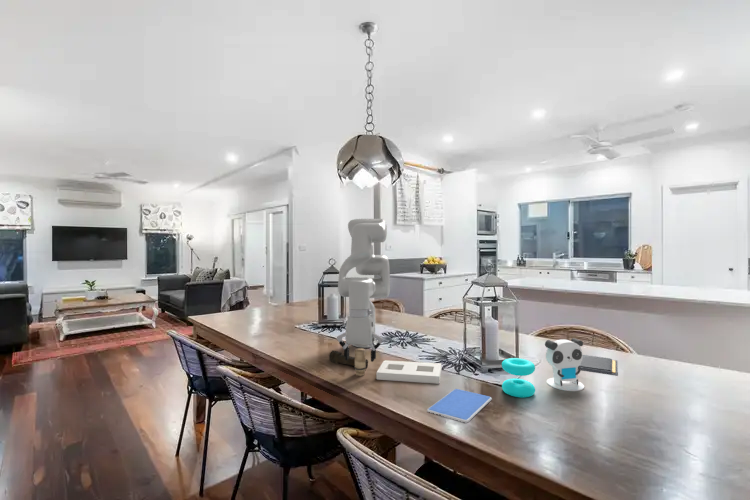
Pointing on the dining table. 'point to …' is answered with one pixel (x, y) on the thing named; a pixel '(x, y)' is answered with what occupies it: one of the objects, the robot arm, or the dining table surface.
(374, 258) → the robot arm
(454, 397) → the tablet computer
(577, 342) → the panda figurine
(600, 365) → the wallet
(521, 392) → the donuts
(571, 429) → the dining table surface
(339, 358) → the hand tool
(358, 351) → the oak peg
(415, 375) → the hole board
